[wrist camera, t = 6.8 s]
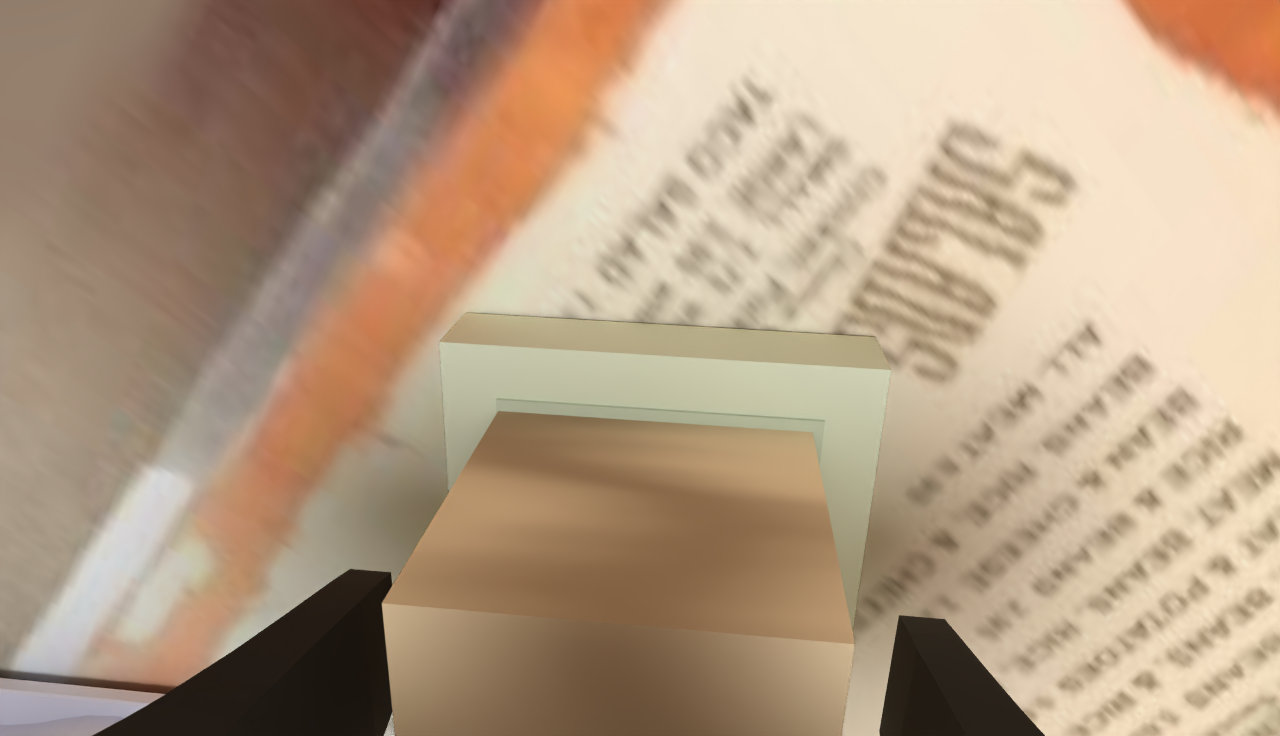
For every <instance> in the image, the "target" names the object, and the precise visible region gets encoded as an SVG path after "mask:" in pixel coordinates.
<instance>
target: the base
mask: <svg viewBox="0 0 1280 736" xmlns="http://www.w3.org/2000/svg"><path fill="white" fill-rule="evenodd" d="M439 348H440V364H441V380H442V397H443V413H444V430H445V446H446V462H447V479H448V493H449V491H450V490H451V488H452V486H453V485H454V483H455V481H456V480H457V478H458V477H459V475H460V473H461V472H462V470H463V468H464V467H465V465H466V463H467V462H468V460H469V458H470V457H471V455H472V453H473V452H474V450H475V448H476V447H477V445H478V444H479V442H480V440H481V439H482V437H483V435H484V434H485V432H486V430H487V429H488V427H489V425H490V424H491V422H492V420H493V419H494V417H495V415H496V414H497V412H498V411H505V412H520V413H535V414H550V415H565V416H579V417H594V418H609V419H624V420H639V421H653V422H668V423H683V424H698V425H713V426H727V427H742V428H757V429H772V430H787V431H801V432H813V437H814V442H815V447H816V452H817V457H818V462H819V467H820V472H821V477H822V482H823V487H824V492H825V497H826V502H827V507H828V512H829V517H830V522H831V527H832V532H833V537H834V542H835V547H836V552H837V557H838V562H839V567H840V572H841V577H842V582H843V587H844V592H845V597H846V602H847V607H848V612H849V617H850V622H851V627H852V632H853V626H854V619H855V612H856V606H857V599H858V592H859V585H860V578H861V572H862V565H863V558H864V551H865V544H866V538H867V531H868V524H869V517H870V510H871V504H872V497H873V490H874V483H875V477H876V470H877V463H878V456H879V449H880V443H881V436H882V429H883V422H884V415H885V409H886V402H887V395H888V388H889V381H890V375H891V369H890V366H889V364H888V362H887V360H886V358H885V356H884V354H883V351H882V349H881V347H880V345H879V343H878V341H877V338H876V337H867V336H850V335H833V334H816V333H799V332H783V331H766V330H749V329H732V328H715V327H698V326H681V325H664V324H647V323H630V322H613V321H596V320H579V319H563V318H546V317H529V316H512V315H495V314H478V313H466V314H465V315H464V316H463V317H462V318H461V319H460V320H459V321H458V322H457V323H456V324H455V325H454V327H453V328H452V329H451V330H450V331H449V332H448V333H447V334H446V335H445V336H444V337H443V338H442V339H441V341H440V342H439Z"/></svg>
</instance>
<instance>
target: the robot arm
mask: <svg viewBox="0 0 1280 736" xmlns="http://www.w3.org/2000/svg"><path fill="white" fill-rule="evenodd" d="M391 587H392V579H391V573H390V572H378V571H366V570H354V569H350V570H348V571H347V572H345V573H344V574H342V575H341V576H339V577H338V578H336V579H335V580H333V581H332V582H330V583H329V584H327V585H326V586H325V587H323V588H322V589H320V590H319V591H318V592H316V593H315V594H313V595H312V596H311V597H309V598H308V599H306V600H305V601H304V602H302V603H301V604H299V605H298V606H297V607H295V608H294V609H292V610H291V611H290V612H288V613H287V614H285V615H284V616H283V617H281V618H280V619H278V620H277V621H275V622H274V623H273V624H271V625H270V626H268V627H267V628H265V629H264V630H263V631H261V632H260V633H258V634H257V635H255V636H254V637H253V638H251V639H250V640H248V641H247V642H245V643H244V644H243V645H241V646H240V647H238V648H237V649H235V650H234V651H232V652H231V653H229V654H228V655H226V656H225V657H223V658H222V659H220V660H218V661H217V662H215V663H214V664H212V665H211V666H209V667H207V668H206V669H204V670H203V671H201V672H200V673H198V674H197V675H195V676H193V677H192V678H190V679H189V680H187V681H186V682H184V683H182V684H181V685H179V686H178V687H176V688H175V689H173V690H172V691H170V692H168V693H167V694H159V693H149V692H139V691H129V690H119V689H108V688H98V687H88V686H78V685H68V684H57V683H47V682H37V681H27V680H17V679H6V678H0V736H384V733H385V730H386V728H387V725H388V722H389V720H390V717H391V714H392V701H391V691H390V681H389V671H388V661H387V651H386V641H385V631H384V621H383V611H382V602H383V600H384V599H385V597H386V595H387V594H388V592H389V590H390V589H391ZM880 736H1045V735H1044V734H1043V733H1042V732H1041V731H1040V730H1039V729H1038V728H1037V726H1036V725H1035V724H1034V723H1033V722H1032V721H1031V720H1030V719H1029V718H1028V716H1027V715H1026V714H1025V713H1024V712H1023V711H1022V710H1021V709H1020V708H1019V706H1018V705H1017V704H1016V703H1015V702H1014V701H1013V700H1012V698H1011V697H1010V696H1009V695H1008V694H1007V693H1006V692H1005V690H1004V689H1003V688H1002V687H1001V686H1000V684H999V683H998V682H997V681H996V680H995V679H994V677H993V676H992V675H991V674H990V673H989V672H988V670H987V669H986V668H985V667H984V666H983V664H982V663H981V662H980V661H979V660H978V658H977V657H976V656H975V655H974V654H973V652H972V651H971V650H970V649H969V648H968V646H967V645H966V644H965V643H964V642H963V640H962V639H961V638H960V637H959V636H958V634H957V633H956V632H955V631H954V630H953V629H952V627H951V626H950V625H949V624H948V623H947V622H946V620H945V619H935V618H923V617H912V616H900V615H899V619H898V625H897V631H896V637H895V643H894V649H893V655H892V660H891V666H890V672H889V678H888V684H887V690H886V696H885V702H884V707H883V713H882V719H881V725H880Z"/></svg>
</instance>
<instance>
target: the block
mask: <svg viewBox="0 0 1280 736" xmlns="http://www.w3.org/2000/svg"><path fill="white" fill-rule="evenodd" d="M382 611H383V621H384V631H385V641H386V651H387V661H388V671H389V681H390V691H391V701H392V711H393V721H394V731H395V736H841V735H842V728H843V722H844V715H845V708H846V702H847V695H848V688H849V681H850V675H851V668H852V661H853V654H854V648H855V642H854V637H853V632H852V627H851V622H850V617H849V612H848V607H847V602H846V597H845V592H844V587H843V582H842V577H841V572H840V567H839V562H838V557H837V552H836V547H835V542H834V537H833V532H832V527H831V522H830V517H829V512H828V507H827V502H826V497H825V492H824V487H823V482H822V477H821V472H820V467H819V462H818V457H817V452H816V447H815V442H814V437H813V432H801V431H787V430H772V429H757V428H742V427H727V426H713V425H698V424H683V423H668V422H653V421H639V420H624V419H609V418H594V417H579V416H565V415H550V414H535V413H520V412H505V411H498V412H497V414H496V415H495V417H494V419H493V420H492V422H491V424H490V425H489V427H488V429H487V430H486V432H485V434H484V435H483V437H482V439H481V440H480V442H479V444H478V445H477V447H476V448H475V450H474V452H473V453H472V455H471V457H470V458H469V460H468V462H467V463H466V465H465V467H464V468H463V470H462V472H461V473H460V475H459V477H458V478H457V480H456V481H455V483H454V485H453V486H452V488H451V490H450V491H449V493H448V495H447V496H446V498H445V500H444V501H443V503H442V505H441V506H440V508H439V510H438V511H437V513H436V515H435V516H434V518H433V519H432V521H431V523H430V524H429V526H428V528H427V529H426V531H425V533H424V534H423V536H422V538H421V539H420V541H419V543H418V544H417V546H416V548H415V549H414V551H413V552H412V554H411V556H410V557H409V559H408V561H407V562H406V564H405V566H404V567H403V569H402V571H401V572H400V574H399V576H398V577H397V579H396V581H395V582H394V584H393V586H392V587H391V589H390V590H389V592H388V594H387V595H386V597H385V599H384V600H383V602H382Z"/></svg>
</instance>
